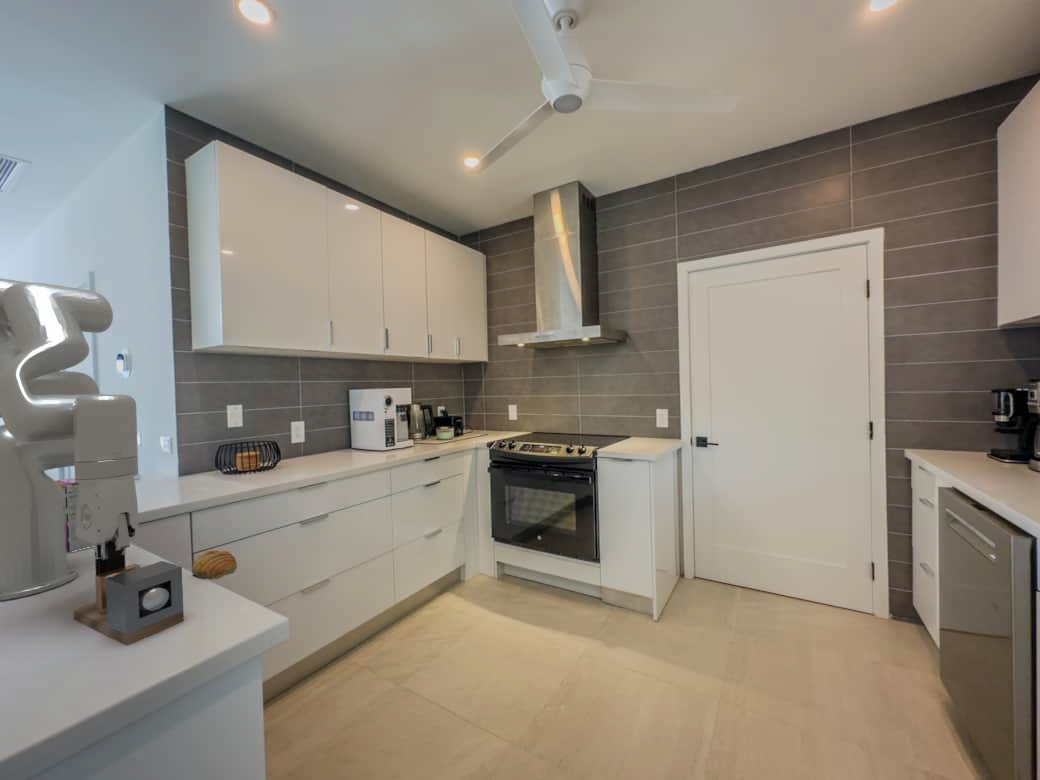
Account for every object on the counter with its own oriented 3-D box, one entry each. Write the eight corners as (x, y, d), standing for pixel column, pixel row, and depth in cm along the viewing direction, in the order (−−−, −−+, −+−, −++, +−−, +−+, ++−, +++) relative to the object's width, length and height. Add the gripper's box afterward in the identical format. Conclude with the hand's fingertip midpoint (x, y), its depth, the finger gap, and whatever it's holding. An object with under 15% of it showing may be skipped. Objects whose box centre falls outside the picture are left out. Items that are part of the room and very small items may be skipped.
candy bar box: (56, 546, 106) (54, 480, 106) (84, 539, 110) (82, 476, 111) (66, 554, 100) (64, 484, 100) (96, 547, 104) (93, 480, 104)
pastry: (246, 572, 86) (245, 553, 86) (207, 585, 80) (206, 565, 80) (226, 563, 91) (225, 545, 91) (188, 575, 85) (187, 556, 85)
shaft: (96, 607, 67) (95, 575, 67) (136, 593, 72) (135, 563, 72) (136, 624, 61) (135, 589, 61) (177, 608, 66) (175, 575, 66)
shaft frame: (73, 619, 69) (71, 566, 69) (128, 599, 75) (127, 551, 75) (127, 645, 61) (124, 585, 61) (183, 620, 67) (181, 566, 67)
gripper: (57, 471, 70) (60, 582, 70) (97, 477, 64) (101, 599, 64) (116, 463, 77) (119, 564, 77) (158, 468, 70) (161, 579, 70)
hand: (111, 580), depth 70 cm, fingers closed
